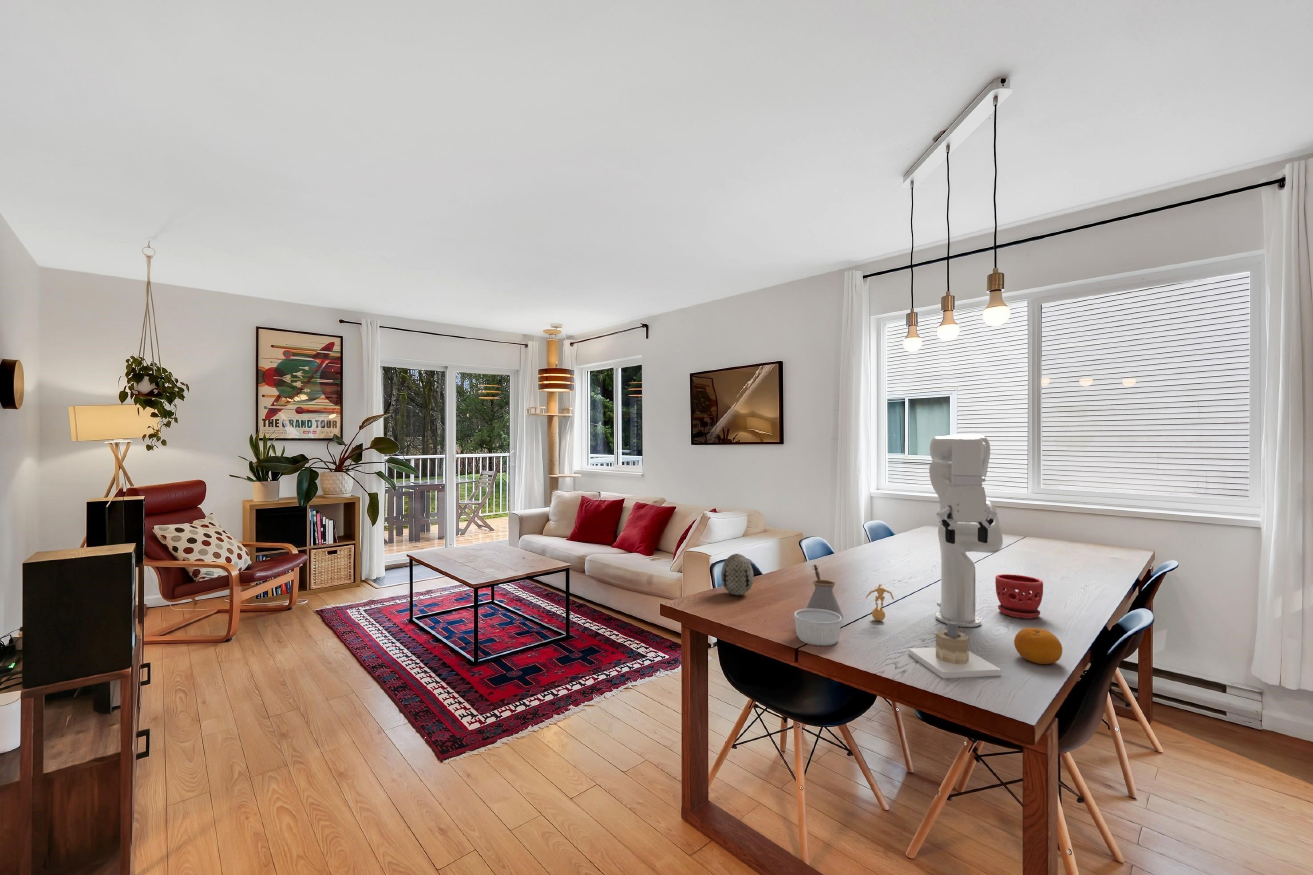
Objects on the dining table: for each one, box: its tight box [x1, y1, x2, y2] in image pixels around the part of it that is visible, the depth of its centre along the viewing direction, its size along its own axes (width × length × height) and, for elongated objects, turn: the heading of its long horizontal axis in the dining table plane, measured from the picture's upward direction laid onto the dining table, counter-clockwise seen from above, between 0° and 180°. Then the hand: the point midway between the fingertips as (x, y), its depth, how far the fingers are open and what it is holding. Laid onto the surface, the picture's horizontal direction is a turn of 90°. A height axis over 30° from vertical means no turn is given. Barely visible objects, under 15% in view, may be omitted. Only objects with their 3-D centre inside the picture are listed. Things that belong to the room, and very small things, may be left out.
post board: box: [907, 622, 1002, 679], centre depth 143 cm, size 15×15×10 cm
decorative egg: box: [720, 553, 754, 596], centre depth 205 cm, size 12×12×15 cm
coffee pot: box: [805, 564, 844, 620], centre depth 178 cm, size 21×12×15 cm, turn 174°
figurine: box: [865, 583, 895, 622], centre depth 175 cm, size 8×6×12 cm
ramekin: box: [793, 608, 843, 647], centre depth 160 cm, size 13×13×7 cm
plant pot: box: [994, 573, 1044, 620], centre depth 183 cm, size 13×13×12 cm
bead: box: [935, 629, 970, 664], centre depth 143 cm, size 7×7×6 cm
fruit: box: [1013, 627, 1063, 665], centre depth 145 cm, size 10×10×8 cm
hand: (966, 542), depth 157 cm, fingers open, 9 cm apart
